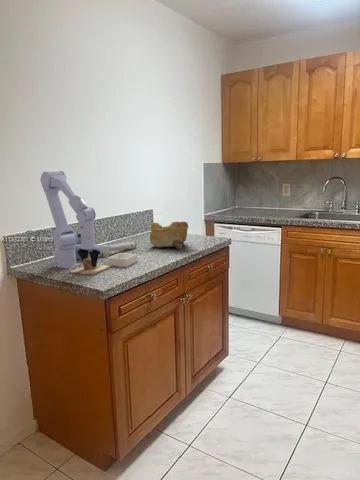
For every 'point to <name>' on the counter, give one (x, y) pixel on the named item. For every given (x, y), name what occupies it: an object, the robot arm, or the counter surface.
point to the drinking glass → (78, 249)
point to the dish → (122, 259)
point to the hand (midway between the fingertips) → (90, 266)
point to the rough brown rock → (169, 235)
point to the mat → (93, 275)
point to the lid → (89, 268)
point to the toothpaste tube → (116, 248)
